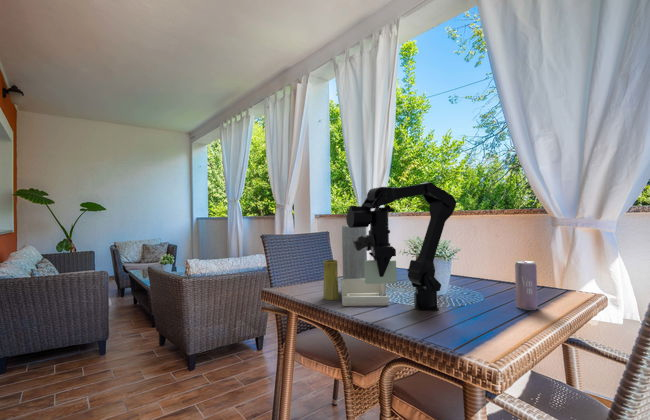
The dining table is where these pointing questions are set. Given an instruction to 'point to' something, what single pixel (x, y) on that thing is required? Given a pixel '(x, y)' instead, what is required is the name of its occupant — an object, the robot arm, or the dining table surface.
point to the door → (373, 273)
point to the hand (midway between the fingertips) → (380, 275)
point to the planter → (353, 253)
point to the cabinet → (363, 293)
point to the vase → (330, 280)
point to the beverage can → (526, 285)
